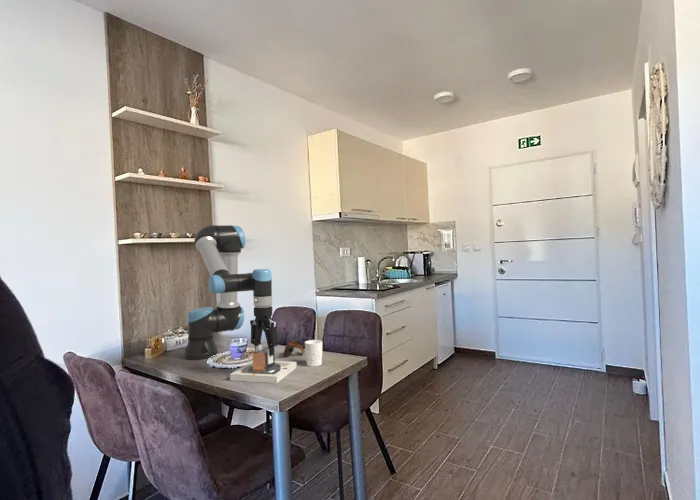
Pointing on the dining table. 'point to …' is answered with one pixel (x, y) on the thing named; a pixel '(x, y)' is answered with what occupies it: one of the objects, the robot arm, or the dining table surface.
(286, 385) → the dining table surface
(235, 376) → the dial panel
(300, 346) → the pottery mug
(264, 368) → the dial
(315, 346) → the white cup
